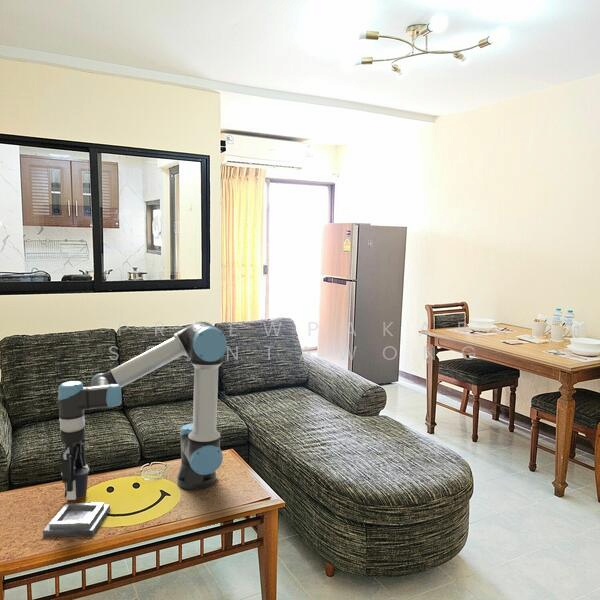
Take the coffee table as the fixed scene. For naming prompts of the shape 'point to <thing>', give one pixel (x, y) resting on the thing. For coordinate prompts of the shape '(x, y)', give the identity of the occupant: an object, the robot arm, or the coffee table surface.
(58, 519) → the white square tray
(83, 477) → the speaker
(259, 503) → the coffee table surface
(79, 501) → the disposable coffee cup
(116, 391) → the robot arm
